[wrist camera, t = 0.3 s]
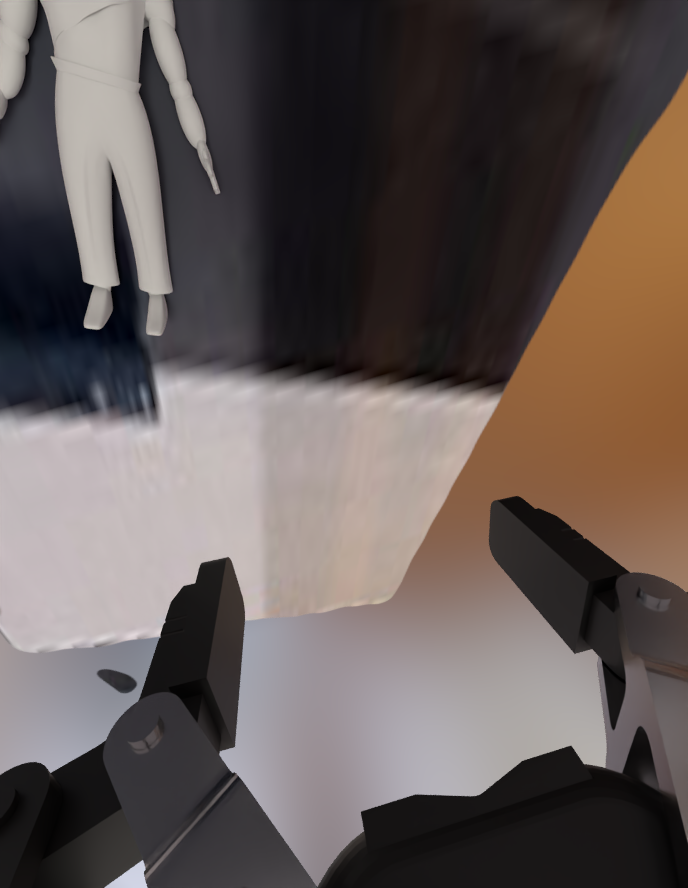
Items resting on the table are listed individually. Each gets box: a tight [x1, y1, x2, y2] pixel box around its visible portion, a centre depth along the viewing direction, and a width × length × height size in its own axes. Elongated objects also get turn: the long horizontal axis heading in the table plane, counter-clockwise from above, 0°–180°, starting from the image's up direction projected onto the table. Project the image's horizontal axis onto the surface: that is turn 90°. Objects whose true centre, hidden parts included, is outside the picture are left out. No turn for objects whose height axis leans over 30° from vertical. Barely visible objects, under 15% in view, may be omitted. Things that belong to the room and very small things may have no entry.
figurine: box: [0, 0, 220, 336], centre depth 24 cm, size 14×5×25 cm
